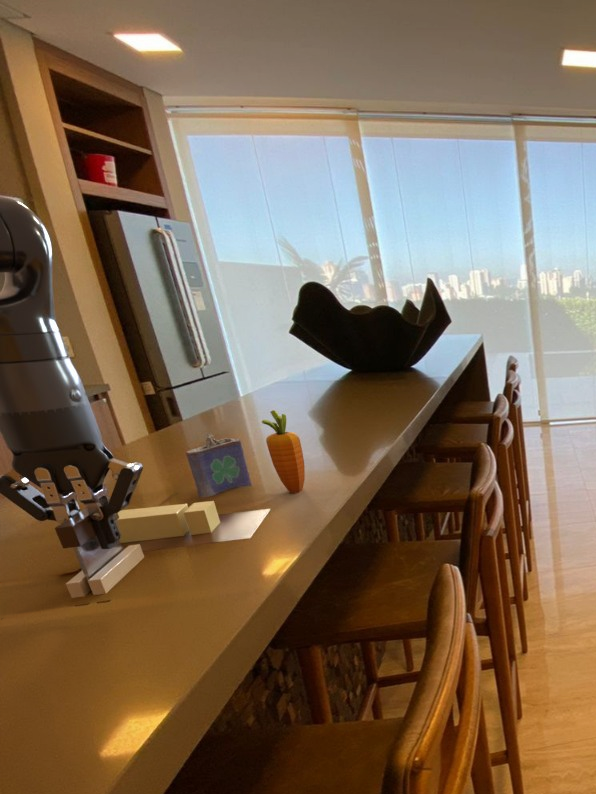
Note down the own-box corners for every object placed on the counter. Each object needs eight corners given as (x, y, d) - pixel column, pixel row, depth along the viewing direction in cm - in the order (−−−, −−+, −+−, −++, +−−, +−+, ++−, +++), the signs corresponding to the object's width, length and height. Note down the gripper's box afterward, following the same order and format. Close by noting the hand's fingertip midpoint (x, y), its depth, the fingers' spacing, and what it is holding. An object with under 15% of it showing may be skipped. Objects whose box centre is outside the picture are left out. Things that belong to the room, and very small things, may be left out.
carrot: (309, 501, 96) (288, 413, 90) (276, 504, 94) (253, 415, 89) (316, 491, 100) (296, 407, 95) (285, 494, 99) (263, 409, 93)
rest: (109, 602, 65) (100, 579, 64) (75, 606, 64) (65, 583, 63) (147, 564, 74) (140, 544, 73) (117, 568, 73) (109, 547, 72)
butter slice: (190, 535, 80) (183, 512, 78) (200, 524, 83) (193, 502, 82) (211, 532, 80) (204, 510, 79) (220, 522, 84) (213, 500, 83)
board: (93, 565, 74) (90, 557, 73) (135, 530, 84) (132, 523, 84) (251, 546, 79) (249, 538, 79) (272, 515, 90) (270, 508, 89)
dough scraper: (103, 601, 65) (72, 526, 62) (86, 603, 65) (54, 528, 61) (138, 567, 73) (112, 499, 70) (123, 569, 73) (96, 500, 69)
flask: (208, 504, 94) (189, 442, 90) (195, 502, 95) (175, 440, 91) (256, 486, 103) (241, 429, 99) (244, 485, 103) (228, 428, 99)
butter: (114, 544, 77) (105, 520, 76) (128, 533, 81) (119, 510, 79) (184, 536, 80) (176, 513, 78) (194, 525, 83) (187, 503, 82)
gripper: (134, 393, 66) (179, 528, 73) (-18, 400, 62) (45, 543, 68) (101, 404, 60) (154, 552, 66) (-71, 414, 55) (4, 570, 62)
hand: (98, 547), depth 67 cm, fingers closed on dough scraper
